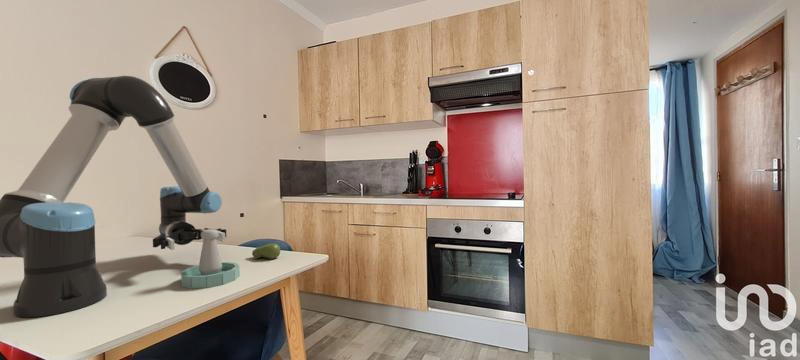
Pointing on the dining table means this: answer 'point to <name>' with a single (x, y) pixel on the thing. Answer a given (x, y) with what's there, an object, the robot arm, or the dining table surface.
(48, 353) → the dining table surface
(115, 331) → the dining table surface
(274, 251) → the pear
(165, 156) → the robot arm
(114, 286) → the dining table surface
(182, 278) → the dish
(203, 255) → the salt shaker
